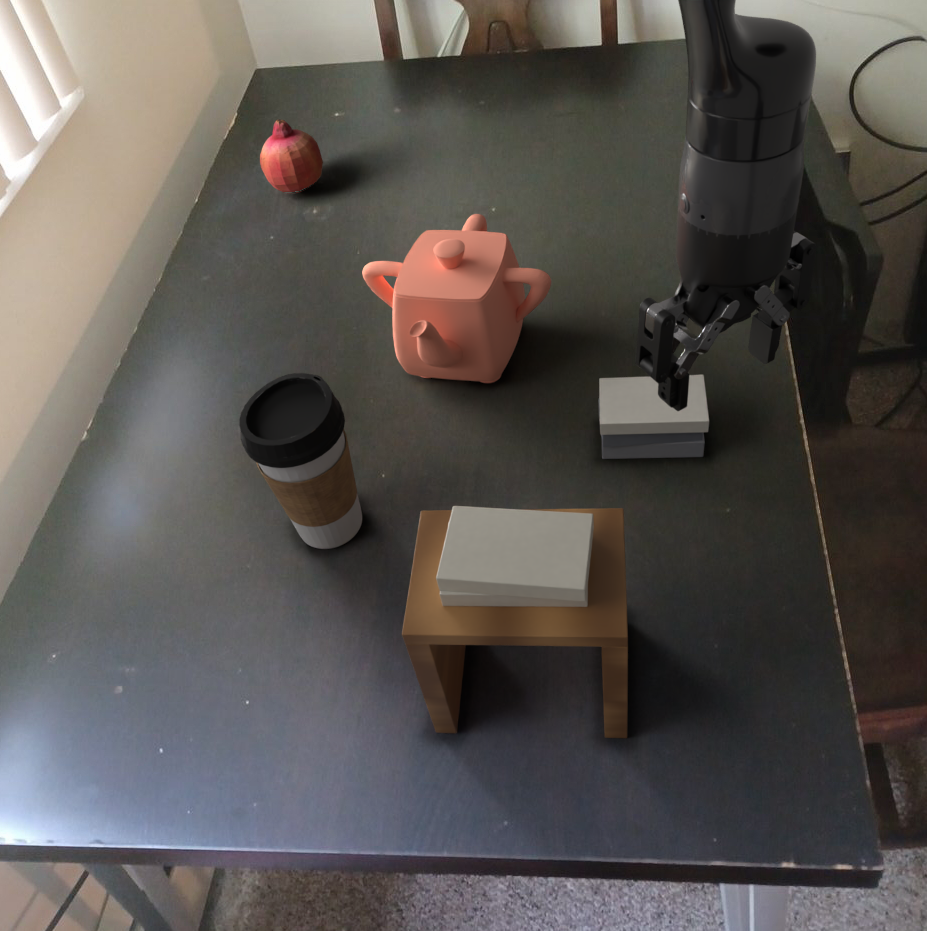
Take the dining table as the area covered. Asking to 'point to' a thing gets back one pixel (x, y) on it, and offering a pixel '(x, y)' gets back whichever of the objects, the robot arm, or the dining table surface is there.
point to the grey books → (652, 445)
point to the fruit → (290, 158)
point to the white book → (649, 407)
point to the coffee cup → (304, 456)
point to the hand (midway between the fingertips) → (718, 380)
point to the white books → (515, 558)
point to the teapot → (458, 302)
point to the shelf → (517, 621)
